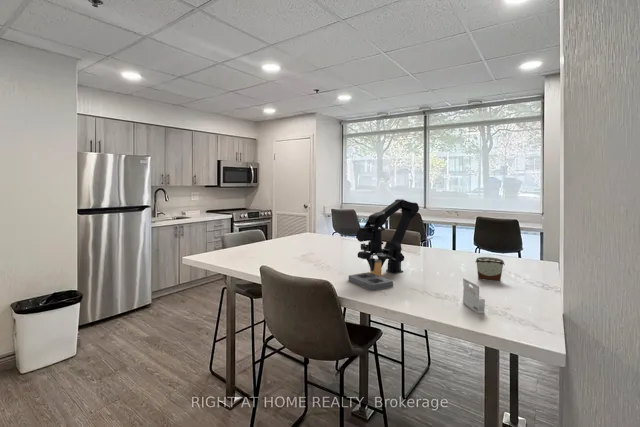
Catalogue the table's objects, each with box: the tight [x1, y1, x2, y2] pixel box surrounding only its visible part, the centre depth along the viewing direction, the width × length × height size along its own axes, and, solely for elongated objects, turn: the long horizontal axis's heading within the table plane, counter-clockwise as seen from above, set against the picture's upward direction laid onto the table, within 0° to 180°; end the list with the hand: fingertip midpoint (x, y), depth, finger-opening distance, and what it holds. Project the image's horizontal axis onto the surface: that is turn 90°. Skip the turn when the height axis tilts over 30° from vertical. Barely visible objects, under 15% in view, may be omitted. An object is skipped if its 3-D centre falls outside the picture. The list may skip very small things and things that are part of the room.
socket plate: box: [348, 271, 394, 292], centre depth 152 cm, size 12×18×2 cm, turn 28°
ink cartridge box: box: [462, 278, 486, 314], centre depth 121 cm, size 2×11×10 cm, turn 5°
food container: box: [475, 256, 505, 283], centre depth 158 cm, size 12×6×10 cm, turn 65°
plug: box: [369, 258, 383, 277], centre depth 166 cm, size 4×4×8 cm
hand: (375, 270), depth 166 cm, fingers open, 4 cm apart
